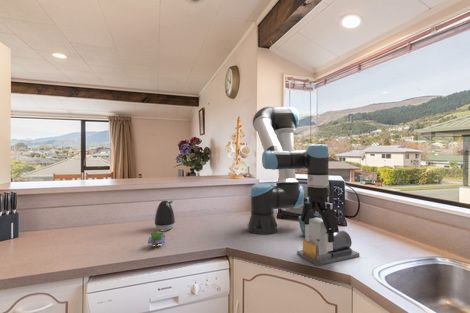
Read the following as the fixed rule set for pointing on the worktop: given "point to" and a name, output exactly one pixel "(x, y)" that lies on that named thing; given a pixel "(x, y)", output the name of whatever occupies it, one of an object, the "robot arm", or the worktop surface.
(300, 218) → the flower pot
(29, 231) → the worktop surface
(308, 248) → the motor
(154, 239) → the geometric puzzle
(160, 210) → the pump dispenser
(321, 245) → the skincare box
